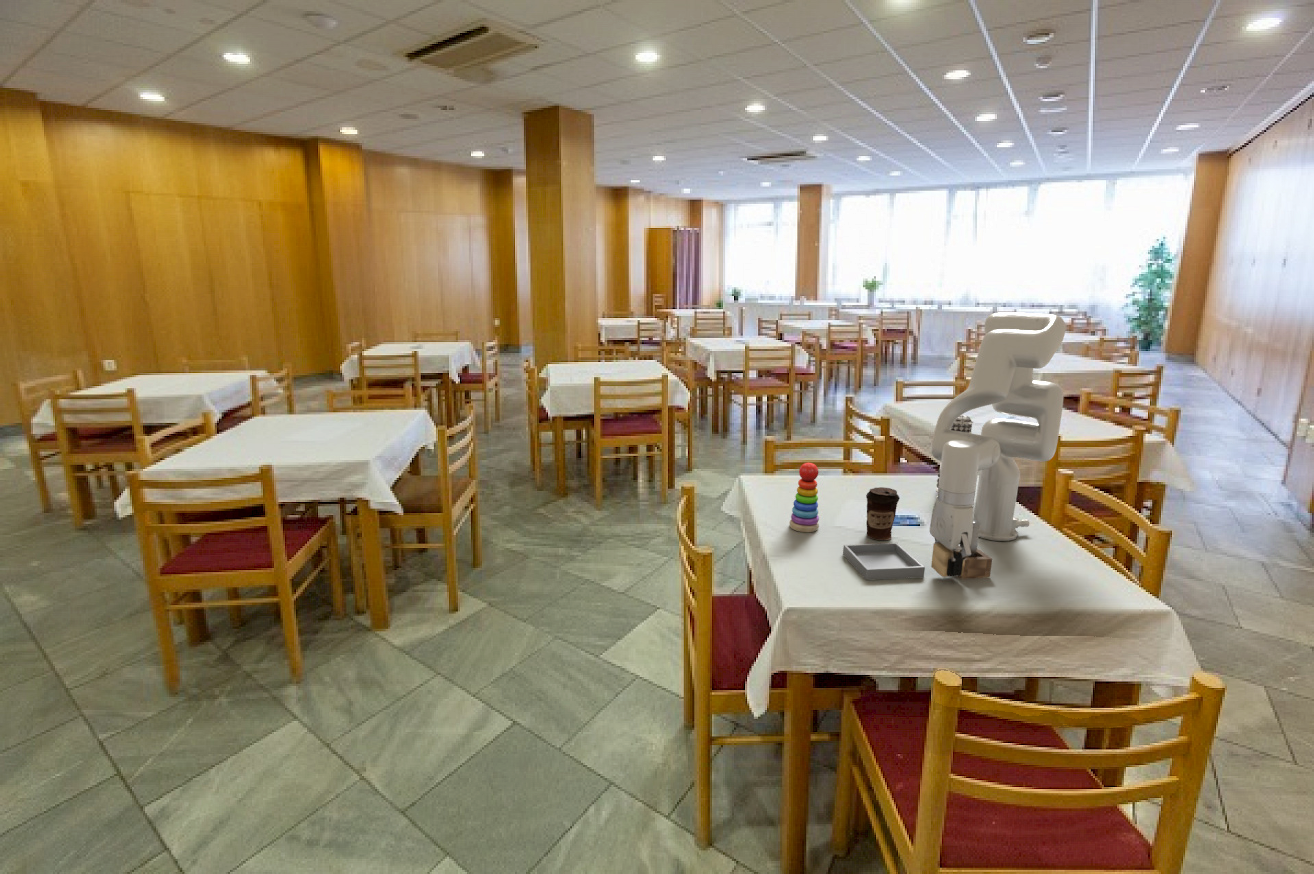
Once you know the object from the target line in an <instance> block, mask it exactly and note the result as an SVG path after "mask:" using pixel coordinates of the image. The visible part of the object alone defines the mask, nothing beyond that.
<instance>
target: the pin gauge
mask: <svg viewBox="0 0 1314 874" xmlns="http://www.w3.org/2000/svg"><path fill="white" fill-rule="evenodd" d="M979 530H980V522H979V521H976V520H973V532H972V540H971V545H970V550H971V556H968V557H976V551H977V548H978V543H979V538H980V537H979Z"/></svg>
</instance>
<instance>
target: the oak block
mask: <svg viewBox="0 0 1314 874" xmlns="http://www.w3.org/2000/svg"><path fill="white" fill-rule="evenodd" d="M958 546H960V544H959V545H958ZM957 553H960V550H955V555H956V554H957ZM931 556H932V557H931V565H930V567H931V568H932V569H933V570H934V571H935V572H936V573H938V574H939V575H940V576H941V577H942V578H945V577H946V578H947V577H949V576H948V575H947V568H948V560H949V559H951V557H950V549H948V548H947V547H945V546H944V545H943V544H941V543H935V542H934V543H933V547H932V555H931ZM964 565H965V560H964V561H963V565H962V573H961V575H960V576H963V573H964Z"/></svg>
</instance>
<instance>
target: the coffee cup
mask: <svg viewBox="0 0 1314 874" xmlns="http://www.w3.org/2000/svg"><path fill="white" fill-rule="evenodd" d="M865 495H866V497H865V498H866V524H865V525H866V536H867V537H868V538H869V539H872V540H878V541H888V540H889V541H890V540H892V533H893V532H892V529H893V525H894V522H895V518H896V512H897V507H898V503H899V501H900V496H899V495H898V491H897V490H896V489H893V488H889V487H873V488H870V489H869V491H868V492H867V493H866V494H865Z"/></svg>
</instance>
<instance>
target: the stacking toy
mask: <svg viewBox="0 0 1314 874" xmlns="http://www.w3.org/2000/svg"><path fill="white" fill-rule="evenodd" d="M798 472H799V473H798V474H799V476H800V479H799V480H798V483H797V484H798V486H797V489H796V491H797V493H796V494H795V496H794V497H795V498H794V499H795V500H794V501H793V507H792V509H791V511H792V513H791V515H790V518H791V519H790V520H789V527H790V528H791V529H792V530H795V532H796V531H797V532H801V533H812V532H815V531H817V530H818V529H819V527H820V525H819V520H820V517H819V515H818V514H819V510H818V507H819V504H818V500H819V497H818V492H819V491H818V488H817V487H818V483H817V482H818V481H817V480H816V479H817V478H818V475H819V468H818V467H817V465H816V464H815V463H812V462H805V463H803V464H802V465H801V466H800V467H799V471H798Z"/></svg>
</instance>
